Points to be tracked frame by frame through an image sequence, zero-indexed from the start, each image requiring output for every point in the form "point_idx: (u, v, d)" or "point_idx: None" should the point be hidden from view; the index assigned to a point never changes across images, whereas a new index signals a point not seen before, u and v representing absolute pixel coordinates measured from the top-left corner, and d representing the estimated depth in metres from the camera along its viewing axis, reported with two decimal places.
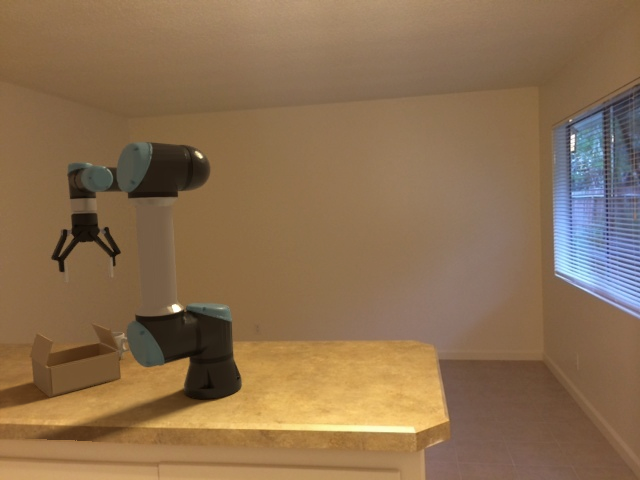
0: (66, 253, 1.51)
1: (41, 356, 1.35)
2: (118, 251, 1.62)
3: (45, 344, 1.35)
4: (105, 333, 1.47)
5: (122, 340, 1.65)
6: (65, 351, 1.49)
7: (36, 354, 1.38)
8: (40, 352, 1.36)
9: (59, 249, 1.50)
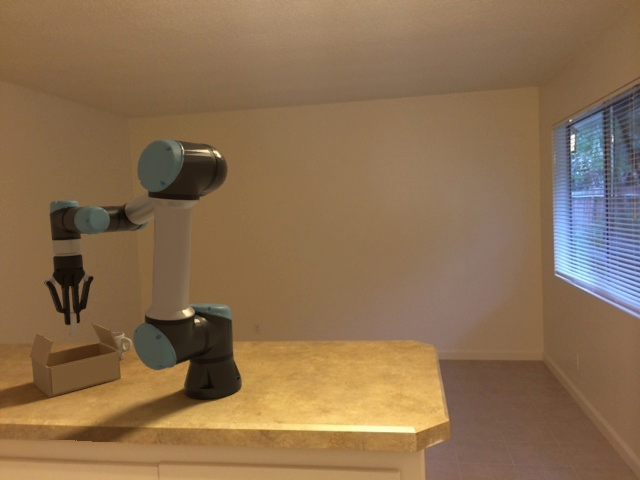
0: (67, 304, 1.41)
1: (41, 356, 1.35)
2: (84, 306, 1.44)
3: (45, 344, 1.35)
4: (105, 333, 1.47)
5: (122, 340, 1.65)
6: (65, 351, 1.49)
7: (36, 354, 1.38)
8: (40, 352, 1.36)
9: (58, 301, 1.39)
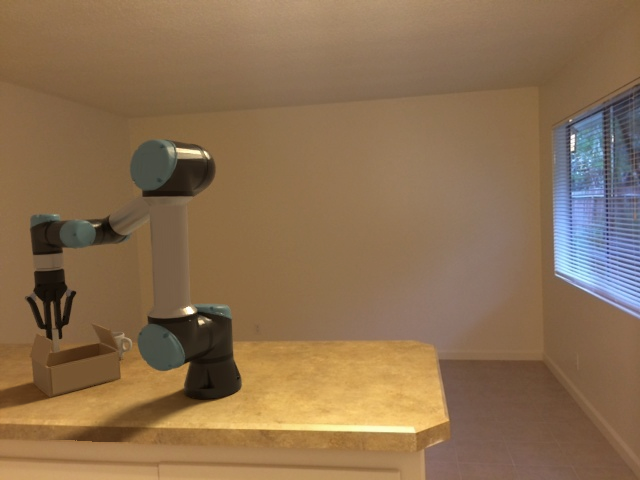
0: (48, 320, 1.38)
1: (41, 356, 1.35)
2: (66, 321, 1.41)
3: (45, 344, 1.35)
4: (105, 333, 1.47)
5: (122, 340, 1.65)
6: (65, 351, 1.49)
7: (36, 354, 1.38)
8: (40, 352, 1.36)
9: (39, 317, 1.36)
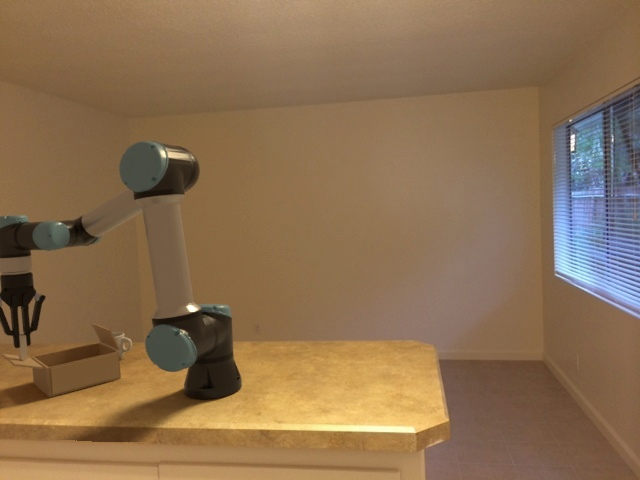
0: (15, 326, 1.32)
1: (30, 364, 1.33)
2: (35, 327, 1.35)
3: (17, 363, 1.31)
4: (105, 333, 1.47)
5: (122, 340, 1.65)
6: (65, 351, 1.49)
7: (27, 361, 1.37)
8: None
9: (5, 323, 1.31)
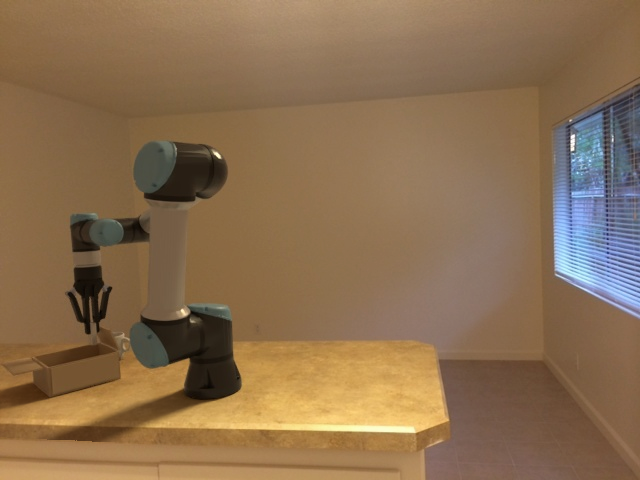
0: (87, 314, 1.45)
1: None
2: (103, 315, 1.48)
3: None
4: (105, 333, 1.47)
5: (122, 340, 1.65)
6: (65, 351, 1.49)
7: None
8: None
9: (78, 311, 1.43)
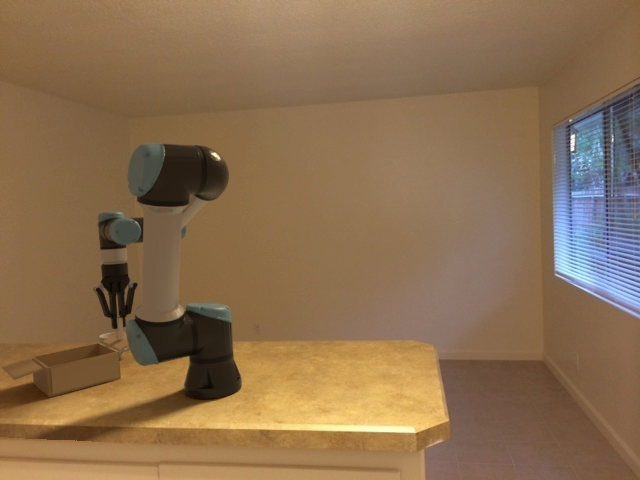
0: (114, 309, 1.50)
1: None
2: (129, 311, 1.53)
3: None
4: None
5: None
6: (65, 351, 1.49)
7: None
8: None
9: (106, 307, 1.48)
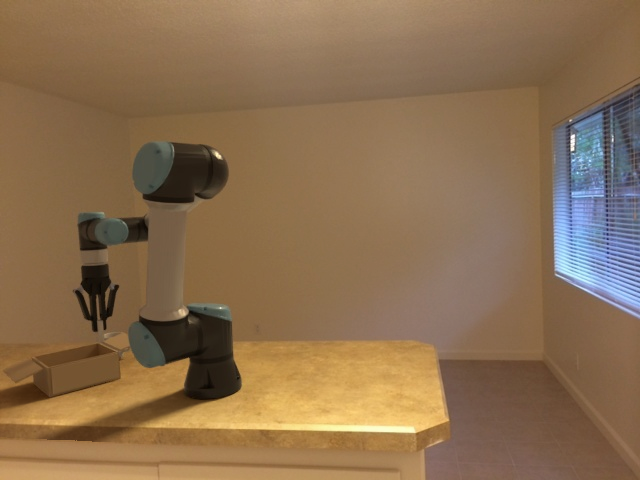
0: (94, 312, 1.46)
1: None
2: (110, 313, 1.50)
3: None
4: None
5: None
6: (65, 351, 1.49)
7: None
8: None
9: (85, 309, 1.45)
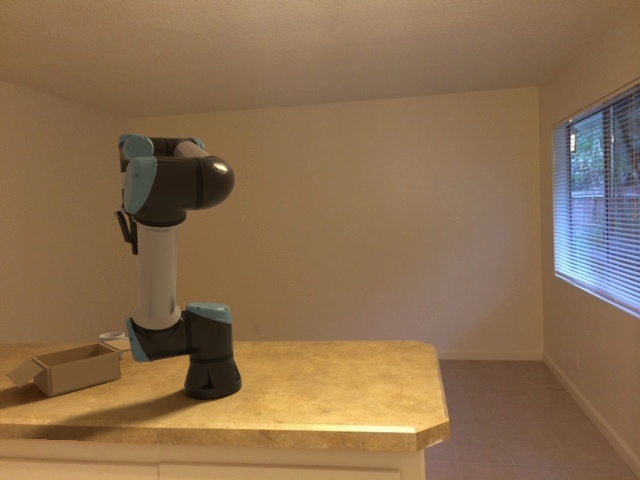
0: (135, 234, 1.47)
1: None
2: None
3: None
4: None
5: None
6: (65, 351, 1.49)
7: None
8: None
9: (127, 231, 1.45)
